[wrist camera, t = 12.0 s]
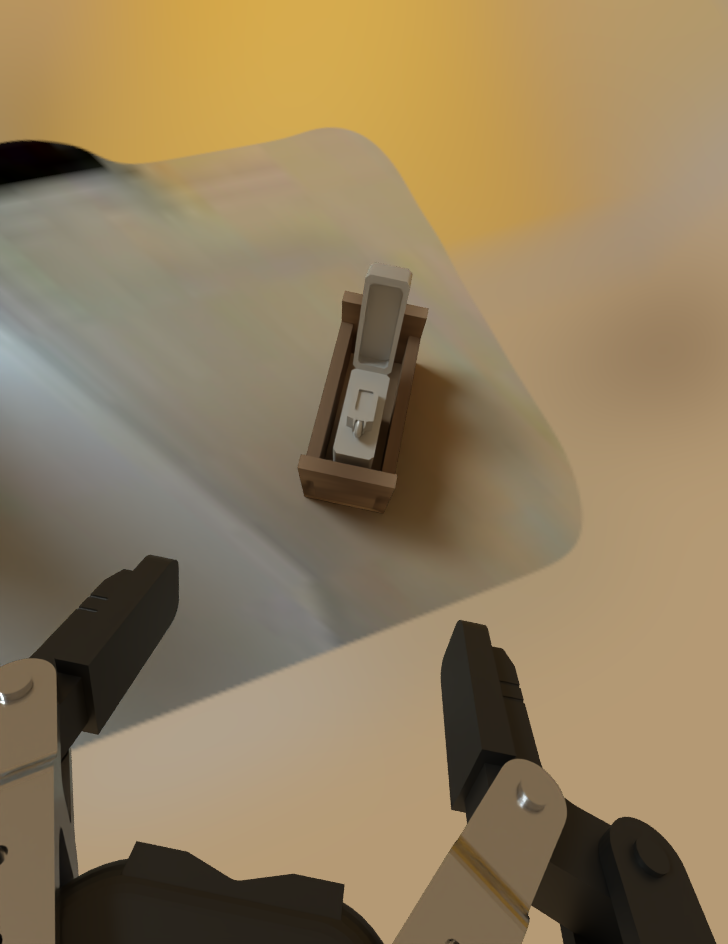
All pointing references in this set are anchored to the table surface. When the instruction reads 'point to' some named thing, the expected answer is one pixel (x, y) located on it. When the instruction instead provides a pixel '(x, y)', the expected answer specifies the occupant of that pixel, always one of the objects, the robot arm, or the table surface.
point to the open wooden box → (379, 482)
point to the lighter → (372, 363)
